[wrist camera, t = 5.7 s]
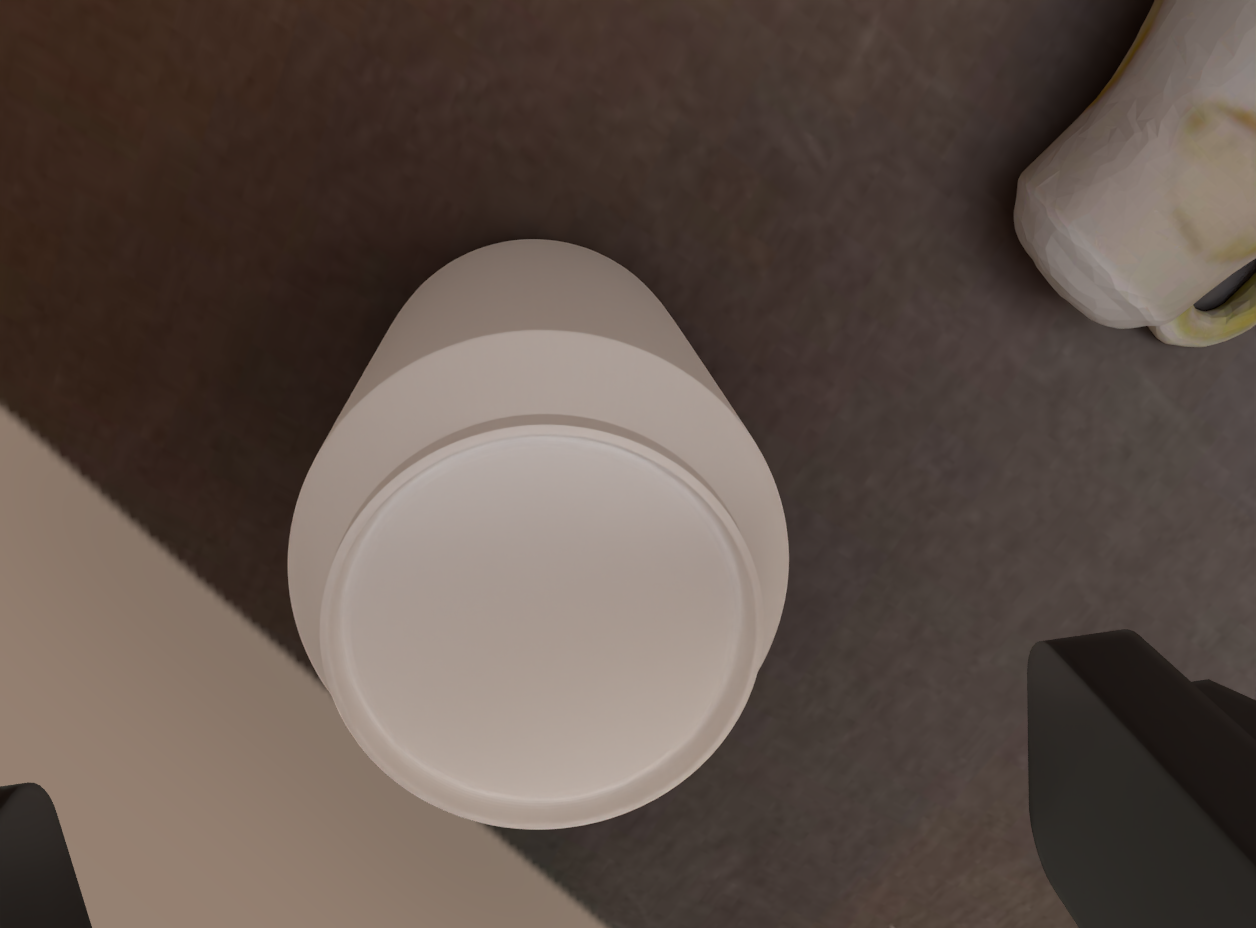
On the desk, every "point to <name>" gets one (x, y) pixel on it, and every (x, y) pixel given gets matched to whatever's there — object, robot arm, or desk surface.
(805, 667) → the desk surface
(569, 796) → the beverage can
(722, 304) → the desk surface
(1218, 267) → the mug
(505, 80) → the desk surface
